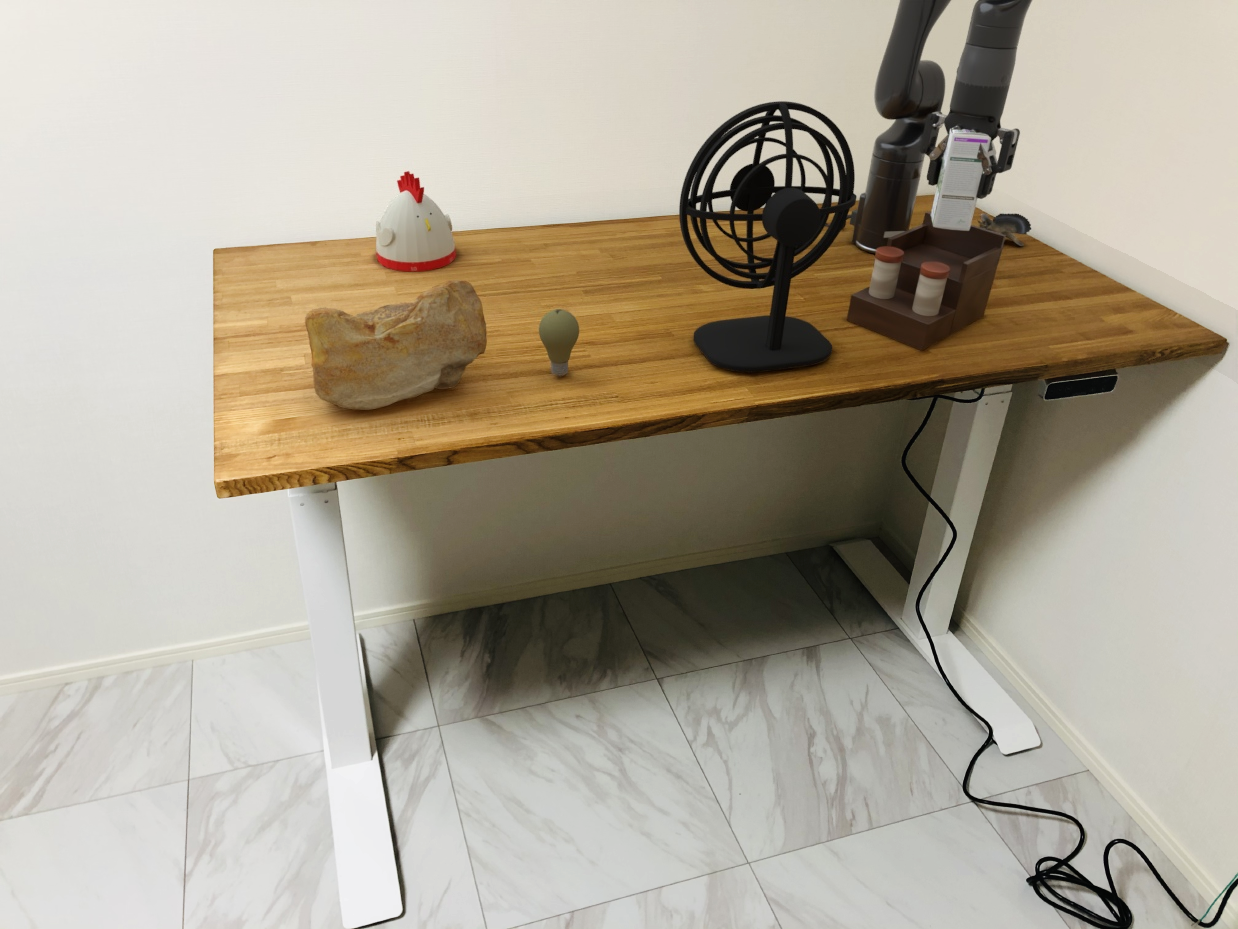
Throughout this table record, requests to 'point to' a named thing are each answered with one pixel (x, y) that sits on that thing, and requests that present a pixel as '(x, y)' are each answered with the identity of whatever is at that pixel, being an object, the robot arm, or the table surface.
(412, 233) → the kitchen timer
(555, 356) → the light bulb
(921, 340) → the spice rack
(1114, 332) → the table surface
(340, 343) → the rough brown rock
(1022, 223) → the squirrel figurine
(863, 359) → the table surface
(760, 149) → the desk fan
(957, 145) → the syrup box
